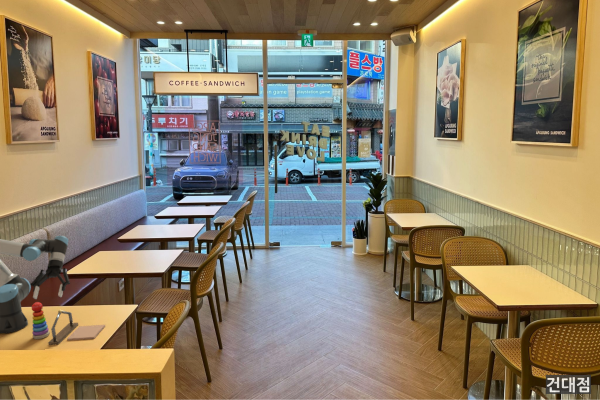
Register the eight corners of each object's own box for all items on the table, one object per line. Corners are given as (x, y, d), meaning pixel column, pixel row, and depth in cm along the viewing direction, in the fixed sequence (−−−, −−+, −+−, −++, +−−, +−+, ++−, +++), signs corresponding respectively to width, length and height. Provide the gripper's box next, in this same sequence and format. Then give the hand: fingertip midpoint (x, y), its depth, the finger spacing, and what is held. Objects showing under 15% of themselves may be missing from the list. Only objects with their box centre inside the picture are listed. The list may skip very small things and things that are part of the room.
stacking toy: (42, 340, 241) (36, 306, 238) (29, 339, 243) (23, 306, 239) (53, 333, 249) (47, 300, 245) (40, 332, 250) (34, 299, 247)
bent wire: (69, 325, 257) (65, 302, 254) (78, 325, 257) (74, 301, 254) (48, 345, 235) (44, 319, 232) (58, 344, 235) (54, 319, 232)
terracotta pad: (67, 340, 239) (67, 338, 239) (79, 328, 253) (79, 326, 253) (94, 338, 239) (94, 336, 239) (105, 326, 253) (105, 324, 253)
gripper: (81, 263, 267) (73, 298, 256) (37, 266, 267) (27, 301, 255) (75, 257, 261) (67, 292, 249) (30, 260, 261) (20, 296, 249)
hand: (47, 297), depth 252 cm, fingers open, 13 cm apart
